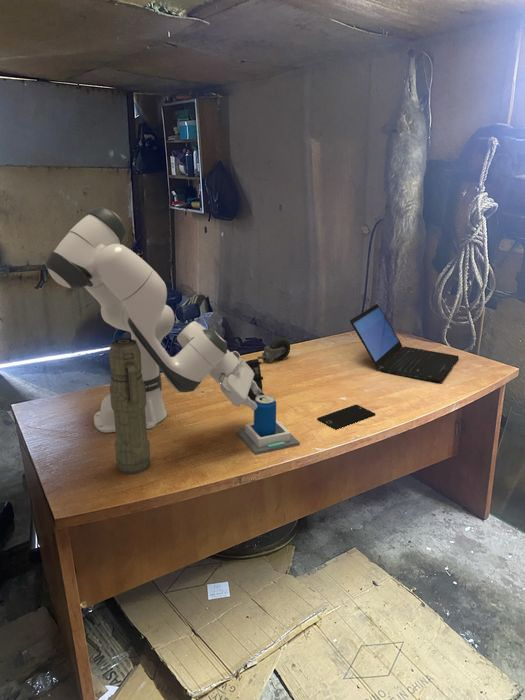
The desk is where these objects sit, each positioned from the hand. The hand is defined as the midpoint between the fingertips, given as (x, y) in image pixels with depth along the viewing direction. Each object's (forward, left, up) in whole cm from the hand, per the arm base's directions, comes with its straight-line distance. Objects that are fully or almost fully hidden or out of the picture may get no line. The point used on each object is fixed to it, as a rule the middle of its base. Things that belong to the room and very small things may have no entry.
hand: (258, 400), depth 155 cm
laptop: (+81, +34, -12) cm, 89 cm away
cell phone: (+31, 0, -12) cm, 34 cm away
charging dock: (+2, -2, -12) cm, 12 cm away
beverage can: (+1, -2, -11) cm, 11 cm away
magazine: (+9, +27, -12) cm, 30 cm away
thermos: (-37, -1, -12) cm, 39 cm away
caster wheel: (+32, +56, -12) cm, 66 cm away
